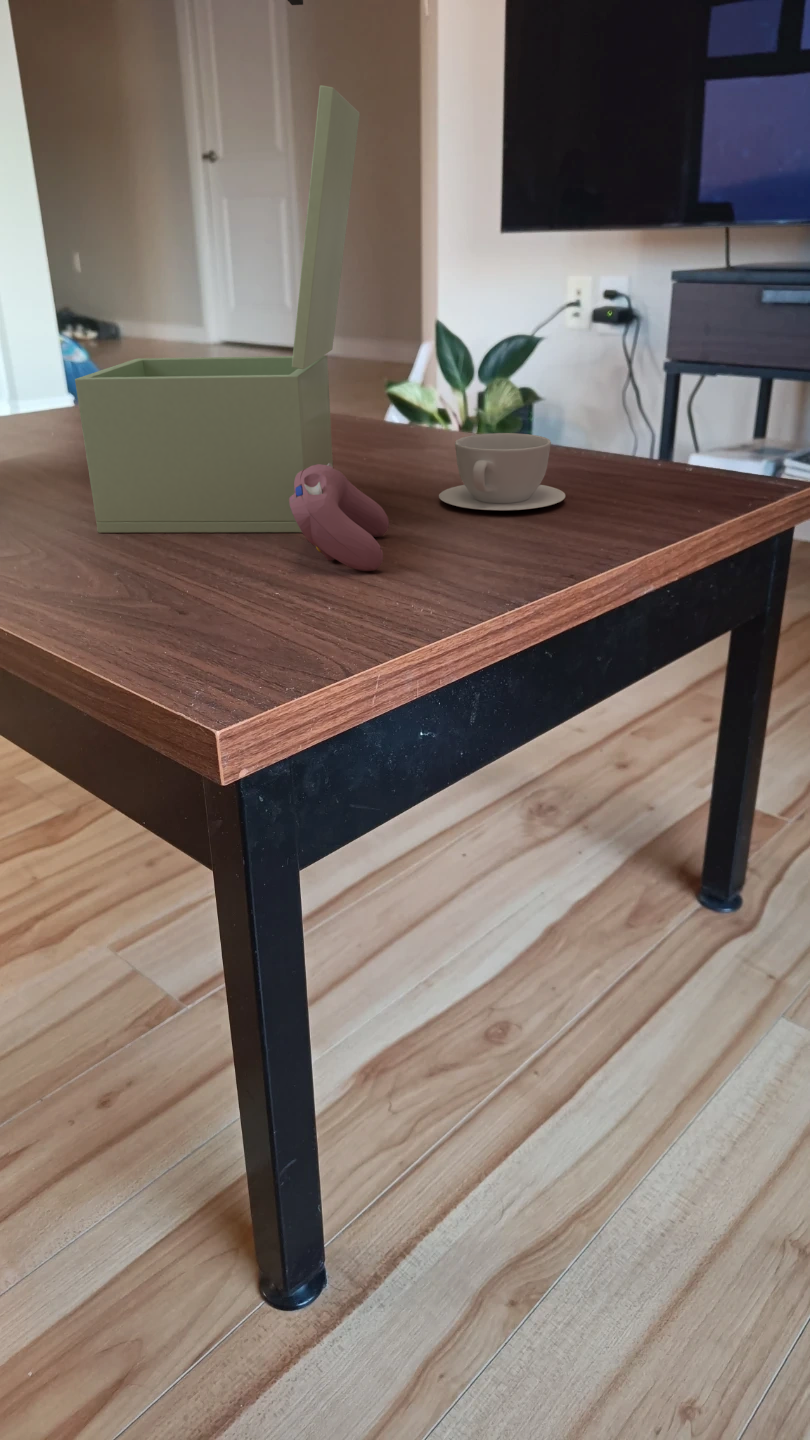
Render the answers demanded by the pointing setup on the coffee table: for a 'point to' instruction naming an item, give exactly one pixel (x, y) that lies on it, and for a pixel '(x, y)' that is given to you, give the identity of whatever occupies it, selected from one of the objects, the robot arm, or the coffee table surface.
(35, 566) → the coffee table surface
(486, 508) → the teacup
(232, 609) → the coffee table surface
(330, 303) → the chest lid
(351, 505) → the video game controller
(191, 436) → the storage chest
